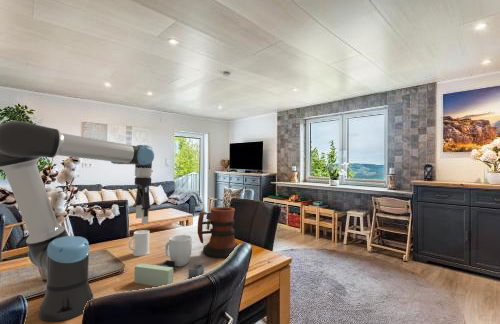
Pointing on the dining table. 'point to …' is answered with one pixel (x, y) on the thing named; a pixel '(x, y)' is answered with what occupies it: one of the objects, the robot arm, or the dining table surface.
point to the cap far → (168, 264)
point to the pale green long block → (153, 275)
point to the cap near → (196, 271)
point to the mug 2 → (179, 249)
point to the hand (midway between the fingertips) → (141, 220)
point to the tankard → (218, 232)
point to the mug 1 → (140, 243)
